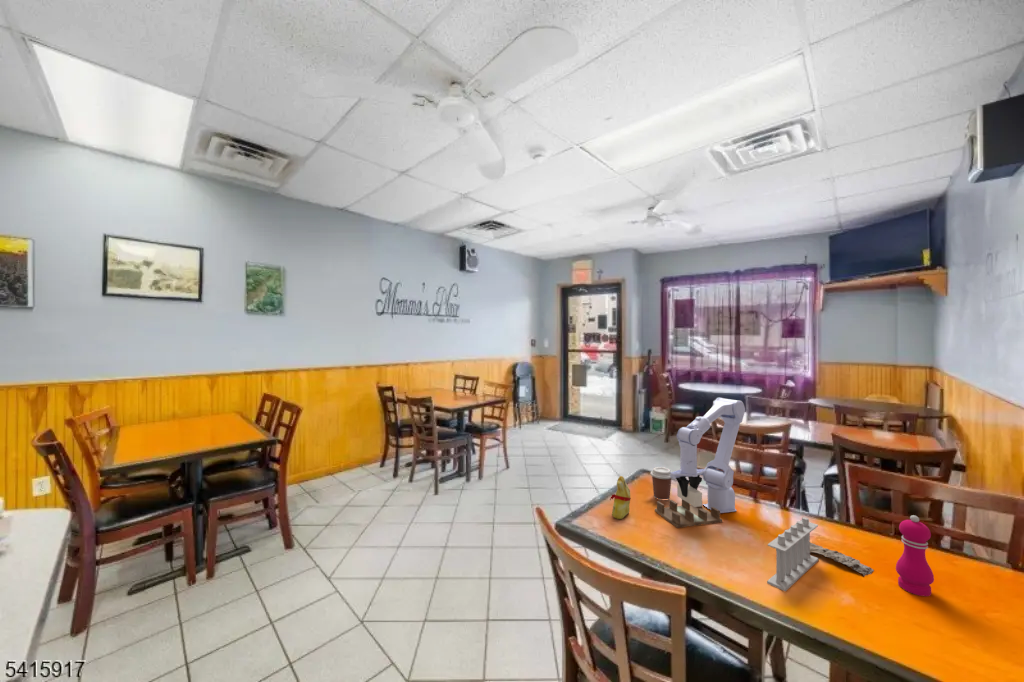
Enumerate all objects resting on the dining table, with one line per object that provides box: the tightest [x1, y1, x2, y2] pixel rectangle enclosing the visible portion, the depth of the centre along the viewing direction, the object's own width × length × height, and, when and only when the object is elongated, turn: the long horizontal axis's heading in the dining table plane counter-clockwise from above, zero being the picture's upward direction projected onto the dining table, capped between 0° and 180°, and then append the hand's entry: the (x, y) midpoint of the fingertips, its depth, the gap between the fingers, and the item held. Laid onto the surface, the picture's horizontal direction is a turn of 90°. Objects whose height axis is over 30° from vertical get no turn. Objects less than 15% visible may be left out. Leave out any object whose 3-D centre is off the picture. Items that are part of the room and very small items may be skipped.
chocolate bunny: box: [609, 475, 631, 520], centre depth 153 cm, size 7×11×15 cm, turn 141°
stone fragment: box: [810, 541, 875, 577], centre depth 124 cm, size 25×3×10 cm
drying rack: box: [654, 499, 723, 529], centre depth 150 cm, size 19×14×4 cm
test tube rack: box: [766, 516, 819, 592], centre depth 115 cm, size 25×4×13 cm, turn 126°
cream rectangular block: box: [676, 482, 703, 507], centre depth 149 cm, size 3×10×5 cm, turn 13°
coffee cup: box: [650, 466, 672, 500], centre depth 168 cm, size 9×9×12 cm
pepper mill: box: [895, 514, 935, 597], centre depth 106 cm, size 7×7×20 cm
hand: (688, 495), depth 149 cm, fingers closed on cream rectangular block, 3 cm apart
